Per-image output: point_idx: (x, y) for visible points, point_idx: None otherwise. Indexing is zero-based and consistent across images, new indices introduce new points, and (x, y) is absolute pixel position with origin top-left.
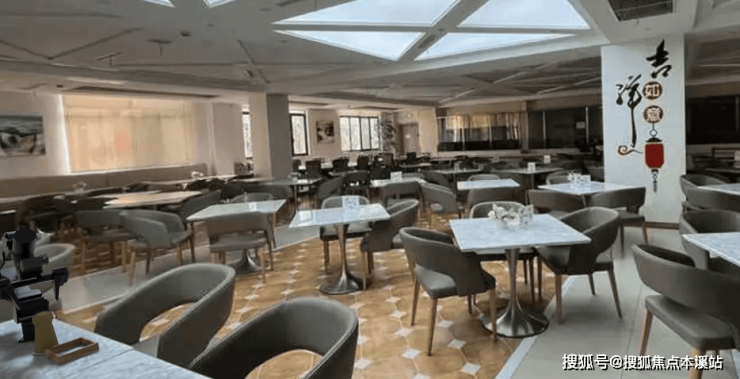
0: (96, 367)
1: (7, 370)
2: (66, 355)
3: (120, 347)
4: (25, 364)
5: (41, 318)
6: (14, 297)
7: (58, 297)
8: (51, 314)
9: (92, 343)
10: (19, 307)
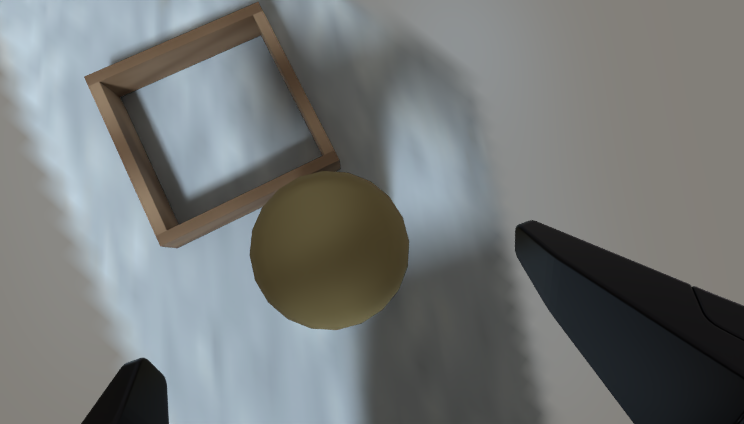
0: None
1: (471, 99)
2: (231, 16)
3: (15, 49)
4: (410, 122)
5: (327, 171)
6: (694, 311)
7: (114, 378)
8: (255, 225)
9: (117, 113)
10: (539, 224)
